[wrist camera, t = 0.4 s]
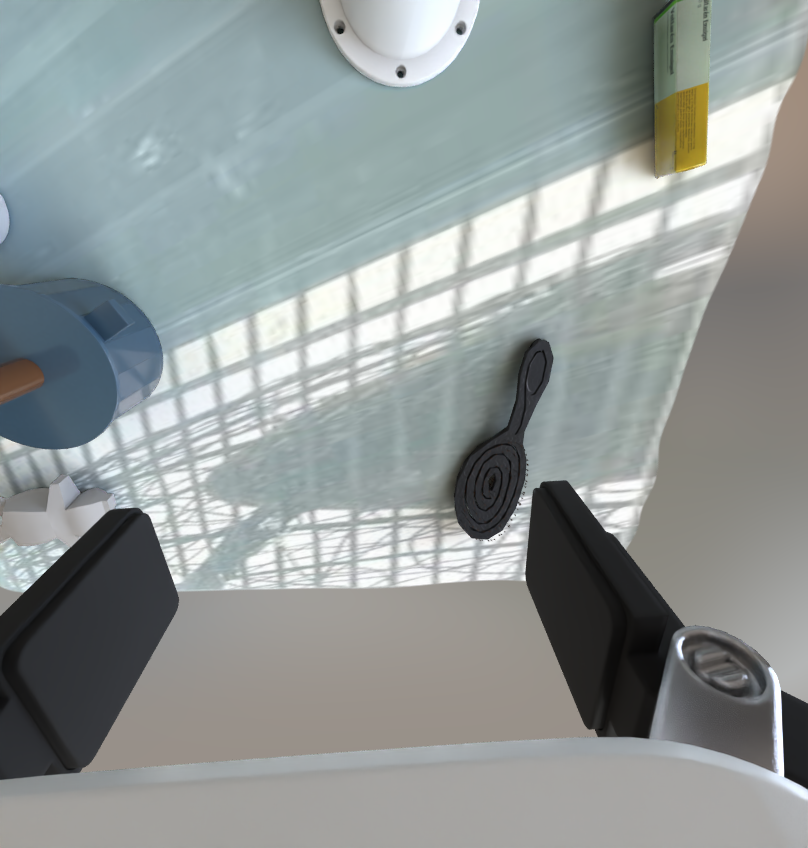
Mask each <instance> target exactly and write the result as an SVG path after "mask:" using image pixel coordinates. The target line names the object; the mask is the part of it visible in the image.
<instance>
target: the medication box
mask: <svg viewBox="0 0 808 848" xmlns="http://www.w3.org/2000/svg"><path fill="white" fill-rule="evenodd" d="M711 4H712V0H670V1H669V2H668V3H667V4H666V5H665V6H664V7H663V8H662V9H661V10H660V11H659V12H658V13H657V14H656V15H655V16H654V17H653V19H654V108H655V178H657V179H658V178H659V177H663V176H667V175H672V174H676V173H680V172H684V171H688V170H691V169H694V168H697V167H700V166H703V165H705V164H706V161H707V130H708V99H709V66H710V35H711Z"/></svg>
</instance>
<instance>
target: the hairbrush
mask: <svg viewBox="0 0 808 848" xmlns="http://www.w3.org/2000/svg"><path fill="white" fill-rule="evenodd" d="M540 350H542V352H541V351H540ZM552 363H553V355H552V351H551V348H550V344H549V342H547V341H546V340H541V339H537V340H536V341H535V342H534V343H533V344H532V345H531V346H530V347H529V348H528V349H527V350H526V352H525V354H524V358H523V361H522V364H521V367H520V370H519V374H518V383H517V393H516V401H515V404H514V407H513V410H512V414H511V417H510V420H509V423H508V426H507V427H506V428H504V429H503V430H502V431H500V432H499V433H498V434H496V435H495V436H493V437H492V438H490V439H489V440H487V441H485V442H484V443H482V444H481V445H479V446H477V447H476V449H475V450H474V451H473V452H472V453H471V454H470V456H469V457H468V458H467V459H466V460H465V462H464V464H463V466H462V468H461V470H460V472H459V474H458V476H457V481H456V487H455V493H454V500H455V511H456V515H457V520H458V523H459V525H460V526H461V527H462V528H463V529H464V530H465V532H466V533H467V534H468V535H469V536H470V537H471V538H476V540H477V539H479V540H480V539H489V538H491V537H492V536H494V535H496V534H497V533H499V532H501V531H502V530H503V529H504V527H505V525H506V524H507V522H508V520H509V519H510V517H511V515H512V514H513V512H514V510H515V509H516V506H517V503H518V504H519V505H521V504H520V503H519V502H518V500H519V497H520V494H521V493H522V492H521V491H522V487H523V484H524V481H526V480H525V475H526V474H525V473H526V470H527V469H526V456H525V449H524V447H523V438H524V431H525V429H526V427H527V425H528V422H529V420H530V418H531V416H532V413H533V411H534V409H535V407H536V405H537V403H538V401H539V399H540V397H541V395H542V393H543V391H544V390H545V388H546V386H547V384H548V382H549V378H550V373H551V368H552ZM511 445H512V446H514V447H515V448H516V450H517V452H516V451H515V449H514V448H513V447H512V446H511ZM504 454H505V455H506V456H507V458H508V460H507V458H506V457H505V455H504ZM517 454H518V457H519V463H518V457H517ZM526 455H527V454H526ZM508 461H509V463H508ZM527 461H528V460H527ZM497 466H498V467H499V468H500V470H499V468H498V467H497ZM527 466H528V464H527ZM500 471H501V472H500ZM527 471H528V470H527ZM494 473H495V481H494V483H493V485H492V487H489V486H488V478H489V477H490V476H492V475H493V474H494ZM526 476H528V474H527V475H526ZM466 479H467V481H466ZM475 479H476V480H475ZM489 479H490V478H489ZM492 479H493V478H492ZM490 480H491V479H490ZM493 480H494V479H493ZM492 482H493V481H492ZM526 482H527V481H526ZM474 484H475V489H474ZM489 484H490V483H489ZM525 484H526V483H525ZM490 485H491V484H490ZM481 488H482V490H483V493H484V495H483V493H482V492H481ZM525 488H526V487H525ZM523 493H524V492H523ZM523 493H522V494H523ZM464 494H465V497H466V503H467V506H468V509H469V511H470V514H471V515H472V516H473V517H472V516H471V515H470V514H469V512H468V509H467V506H466V503H465V500H464ZM474 494H475V498H476V501H477V503H478V505H479V506H478V505H477V504H476V502H475V499H474ZM523 495H524V494H523ZM522 499H523V498H522ZM517 510H518V509H517ZM514 515H515V514H514ZM515 516H516V515H515ZM511 521H512V520H511ZM509 526H510V525H509ZM509 526H508V527H509ZM504 532H505V531H504ZM501 535H502V534H501ZM499 536H500V535H499ZM494 540H495V539H494ZM480 541H481V540H480ZM482 541H483V540H482ZM488 541H489V540H488ZM491 541H492V540H491Z"/></svg>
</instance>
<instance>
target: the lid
mask: <svg viewBox="0 0 808 848" xmlns="http://www.w3.org/2000/svg"><path fill="white" fill-rule="evenodd" d="M120 394H121V389H120V380H119V376H118V372H117V369H116V366H115V363H114V361H113V359H112V357H111V355H110V353H109V351H108V349H107V347H106V346H105V344H104V343H103V341H102V340H101V339H100V337H99V336H98V335H97V334H96V332H95V331H94V330H93V329H92V328H91V327H90V326H89V325H88V324H87V323H86V322H85V321H84V320H83V319H82V318H81V317H79V316H78V315H77V314H76V313H75V312H73V311H72V310H71V309H69V308H68V307H66V306H65V305H63V304H62V303H60V302H58V301H56V300H54V299H53V298H51V297H49V296H47V295H44V294H42V293H39V292H37V291H35V290H31V289H28V288H24V287H21V286H15V285H10V284H0V436H2V437H4V438H6V439H9V440H11V441H14V442H16V443H19V444H22V445H26V446H30V447H34V448H41V449H68V448H73V447H78V446H80V445H83V444H86V443H88V442H90V441H92V440H93V439H95V438H97V437H98V436H99V435H101V434H102V433H103V432H104V431H105V430H106V429H107V428H108V427H109V426H110V425H111V423H112V421H113V420H114V418H115V416H116V414H117V411H118V408H119V403H120Z"/></svg>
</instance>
